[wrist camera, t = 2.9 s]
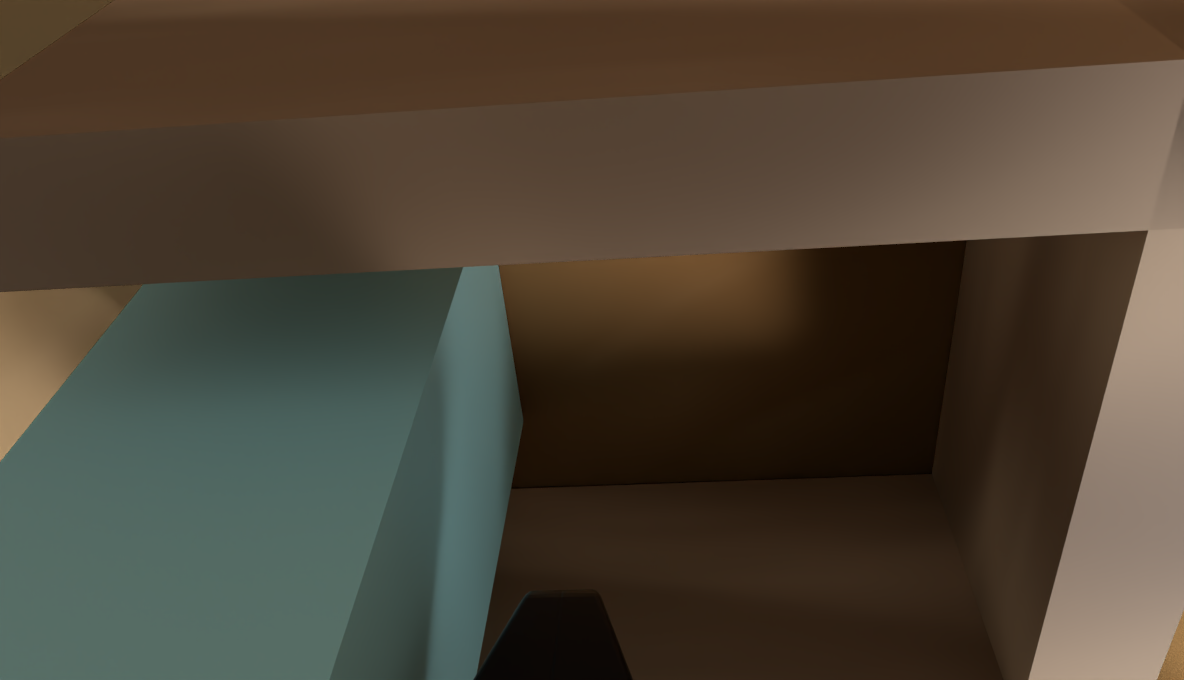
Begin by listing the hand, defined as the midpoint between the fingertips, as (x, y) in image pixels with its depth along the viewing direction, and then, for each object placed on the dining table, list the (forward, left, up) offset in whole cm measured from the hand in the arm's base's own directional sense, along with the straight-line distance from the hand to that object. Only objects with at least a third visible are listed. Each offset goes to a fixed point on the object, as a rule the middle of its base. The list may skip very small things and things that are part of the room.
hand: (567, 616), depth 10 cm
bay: (0, -1, -6) cm, 6 cm away
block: (0, +3, -6) cm, 7 cm away
